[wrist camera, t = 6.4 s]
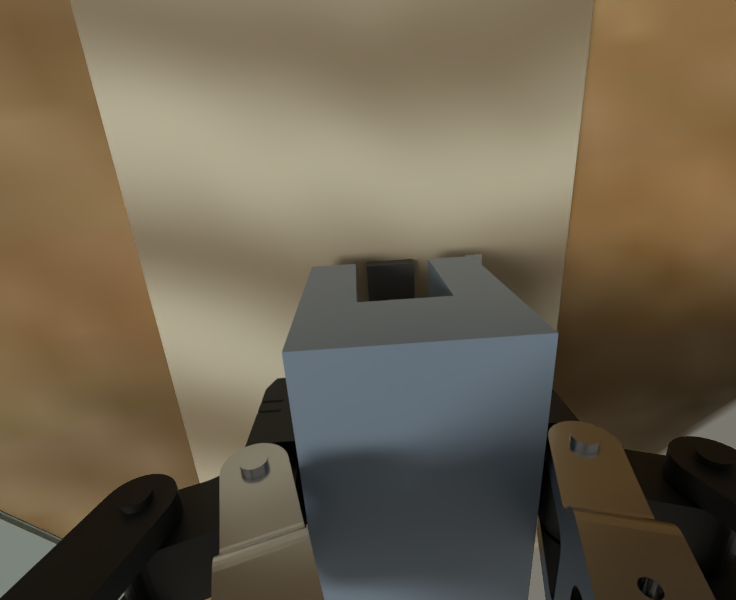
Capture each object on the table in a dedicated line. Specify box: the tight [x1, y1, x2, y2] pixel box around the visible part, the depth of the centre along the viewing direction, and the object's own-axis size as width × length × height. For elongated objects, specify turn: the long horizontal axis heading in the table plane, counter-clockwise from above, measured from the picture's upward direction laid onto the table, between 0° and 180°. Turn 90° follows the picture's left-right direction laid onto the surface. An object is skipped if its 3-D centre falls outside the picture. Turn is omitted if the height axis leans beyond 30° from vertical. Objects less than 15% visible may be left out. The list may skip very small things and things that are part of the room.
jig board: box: [70, 0, 594, 483], centre depth 12 cm, size 18×13×4 cm
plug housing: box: [282, 256, 559, 600], centre depth 10 cm, size 7×4×5 cm, turn 3°
